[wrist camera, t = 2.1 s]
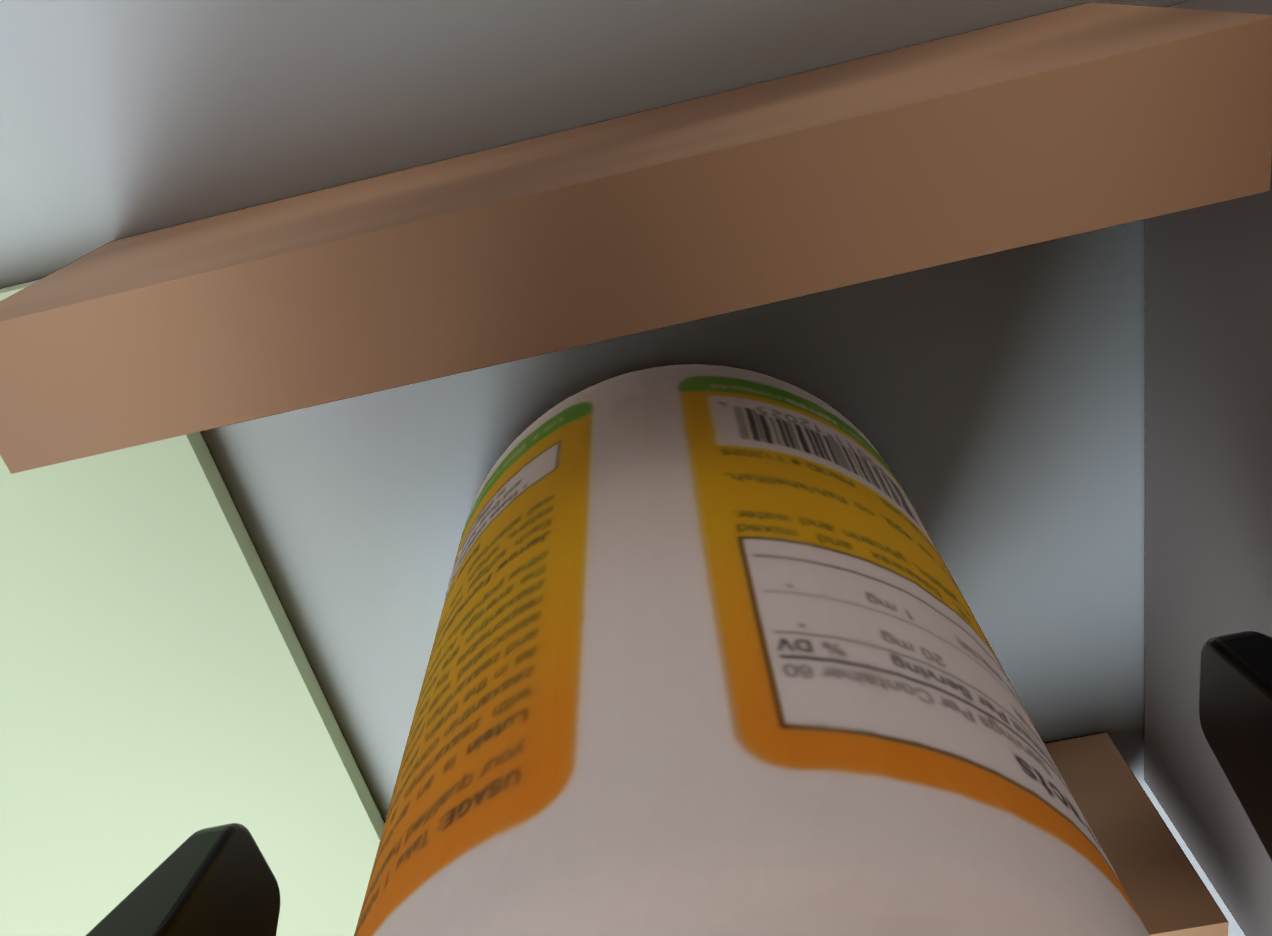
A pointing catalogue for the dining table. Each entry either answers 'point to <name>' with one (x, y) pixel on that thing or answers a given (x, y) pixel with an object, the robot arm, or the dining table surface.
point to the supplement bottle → (720, 698)
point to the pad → (158, 698)
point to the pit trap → (1207, 505)
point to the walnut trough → (667, 257)
